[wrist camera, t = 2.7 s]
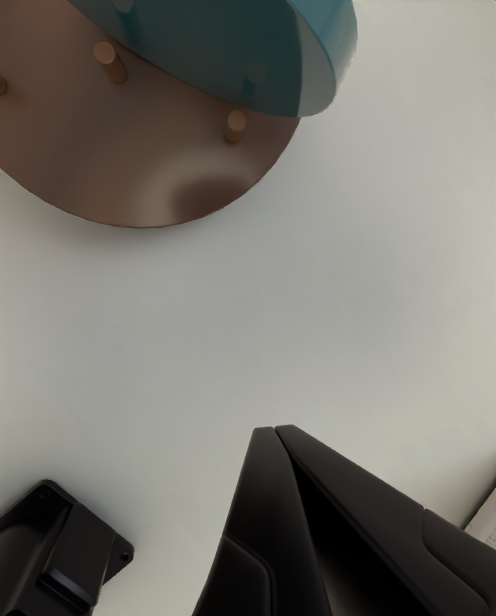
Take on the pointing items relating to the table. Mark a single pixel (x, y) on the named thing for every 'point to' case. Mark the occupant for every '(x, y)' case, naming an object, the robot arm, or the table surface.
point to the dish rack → (161, 98)
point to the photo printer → (485, 522)
